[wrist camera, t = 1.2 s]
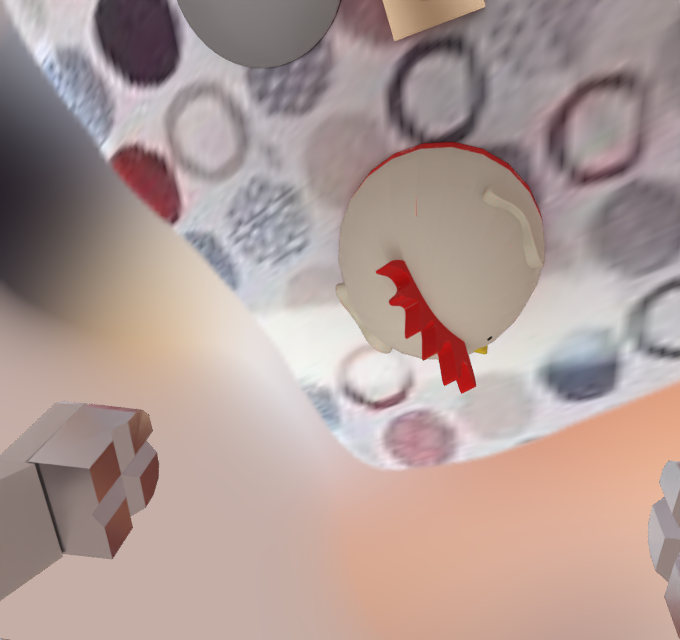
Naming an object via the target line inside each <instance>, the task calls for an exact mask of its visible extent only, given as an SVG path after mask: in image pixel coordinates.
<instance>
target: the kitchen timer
mask: <svg viewBox="0 0 680 640" xmlns="http://www.w3.org/2000/svg"><path fill="white" fill-rule="evenodd" d="M544 253H545V244H544V234H543V224H542V217H541V214H540V211H539V208H538V206H537V204H536V202H535V199H534V197H533V195H532V193H531V191H530V188H529V186H528V185H527V184H526V183H525V182H524V180H523V179H522V178H521V177H520V176H519V175H518V174H517V173H516V172H515V171H514V169H513V168H512V167H511V166H510V165H509V164H508V163H506V162H504V161H503V160H501V159H499V158H497V157H496V156H494V155H492V154H491V153H489V152H487V151H485V150H484V149H481V148H477V147H473V146H468V145H464V144H460V143H456V142H442V143H424V144H420V145H417V146H415V147H412V148H409V149H406V150H403V151H401V152H398V153H395V154H393V155H392V156H391V157H389V158H388V159H387V160H385V161H384V162H383V163H381V164H380V165H378V166H377V167H376V168H374V169H373V170H372V171H371V172H370V173H369V175H368V176H367V177H366V179H365V180H364V181H363V183H362V184H361V185H360V187H359V188H358V189H357V191H356V192H355V193H354V195H353V196H352V198H351V200H350V202H349V205H348V208H347V211H346V213H345V216H344V219H343V222H342V225H341V228H340V242H339V264H340V268H341V272H342V276H343V280H344V283H340V284H337V285H336V293H337V296H338V298H339V300H340V302H341V303H342V305H343V306H344V307H345V308H346V309H347V311H348V312H349V313H350V314H351V316H352V317H353V319H354V320H355V321H356V323H357V324H358V326H359V328H360V329H361V331H362V333H363V335H364V337H365V338H366V340H367V341H368V343H369V344H370V345H371V346H372V347H373V348H375V349H376V350H378V351H379V352H382V353H386V354H387V353H390V352H391V350H392V348H394V349H395V350H397V351H399V352H401V353H403V354H407V355H411V356H414V357H418V358H422V360H423V361H424V360H426V359H439V363H440V369H441V375H442V381H443V384H444V386H445V385H447V384H449V383H451V382H453V381H455V380H456V381H457V384H458V387H459V389H460V392H461V394H462V393H464V392H466V391H468V390H470V389H472V388H474V387H476V381H475V377H474V373H473V369H472V366H471V362H470V359H469V355H468V354H471V353H473V352H477V353H481V354H487V345H488V344H490V343H492V342H493V341H495V340H496V339H497V338H498V337H499V336H500V335H501V334H502V333H503V332H504V331H505V330H506V329H507V328H508V327H509V326H511V325H512V324H513V323H514V322H515V320H516V319H517V318H518V316H519V315H520V313H521V312H522V310H523V308H524V306H525V305H526V303H527V301H528V299H529V298H530V296H531V294H532V293H533V291H534V289H535V287H536V285H537V283H538V280H539V275H540V271H541V268H542V267H543V266H544Z"/></svg>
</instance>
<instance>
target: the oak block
mask: <svg viewBox="0 0 680 640" xmlns="http://www.w3.org/2000/svg"><path fill="white" fill-rule="evenodd" d="M383 3H384V7H385V10H386V14H387V17H388V21H389V24H390V28H391V31H392V35H393V38H394V41H397V40H399V39H402V38H405V37H407V36H410V35H413V34H415V33H418V32H421V31H423V30H426V29H428V28H431V27H434V26H436V25H439V24H442V23H444V22H447V21H450V20H452V19H455V18H458V17H460V16H463V15H465V14H468V13H471V12H473V11H476V10H479V9H481V8H484V7H486V6H485V2H484V0H383Z"/></svg>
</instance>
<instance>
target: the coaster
mask: <svg viewBox="0 0 680 640" xmlns="http://www.w3.org/2000/svg"><path fill="white" fill-rule="evenodd" d="M177 1H178V4H179V6H180V9H181V11H182V13H183V15H184V17H185V19H186V20H187V22H188V23H189V25H190V27H191V28H192V29H193V31H194V32H195V33H196V35H197V36H198V37H199V38H200V39H201V40H202V41H203V42H204V43H205V44H206V45H207V46H208V47H209V48H210V49H212V50H213V51H214V52H215V53H217V54H218V55H220V56H222V57H223V58H225V59H227V60H229V61H232V62H234V63H236V64H240V65H243V66H247V67H254V68H269V67H275V66H280V65H283V64H286V63H289V62H291V61H293V60H296V59H298V58H300V57H301V56H303V55H304V54H306V53H307V52H309V51H310V50H311V49H312V48H313V47H314V46H315V45H316V44H317V43H318V42H319V41H320V40H321V39H322V38H323V36H324V35H325V34H326V32H327V31H328V29H329V27H330V26H331V24H332V22H333V20H334V18H335V16H336V14H337V11H338V8H339V5H340V2H341V0H177Z"/></svg>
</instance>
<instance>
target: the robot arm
mask: <svg viewBox="0 0 680 640" xmlns="http://www.w3.org/2000/svg"><path fill="white" fill-rule="evenodd" d="M152 431H153V429H152V425H151V421H150V417H149V414H147V413H146V412H145V411H143V410H138V409H130V408H121V407H113V406H105V405H97V404H96V405H95V404H85V403H76V402H66V401H63V402H59V403H55V404H54V405H53V406H52V407H51V408H50V409H48V410H47V411H46V412H45V413H44V414H43V415H42V416H41V417H40V418H39V419H38V420H37V421H36V422H35V423H34V424H33V425H32V426H31V427H30V428H29V429H27V430H26V431H25V432H24V433H23V434H22V435H21V436H20V437H19V438H18V439H17V440H16V441H15V442H14V443H13V444H12V445H10V446H9V447H8V448H7V449H6V450H5V451H4V452H3V453H2V454H1V455H0V601H1V600H2V599H3V598H5V597H6V596H8V595H9V594H11V593H12V592H13V591H15V590H16V589H18V588H19V587H20V586H22V585H23V584H25V583H26V582H27V581H29V580H30V579H32V578H33V577H35V576H36V575H37V574H39V573H40V572H42V571H43V570H45V569H46V568H47V567H49V566H50V565H51V564H53V563H54V562H56V561H57V560H59V559H60V558H61V557H62V554H69V555H79V556H88V557H97V558H106V559H113V557H114V556H115V554H116V553H117V551H118V550H119V548H120V547H121V545H122V544H123V542H124V541H125V539H126V538H127V536H128V534H129V533H130V531H131V530H132V528H133V526H132V522H131V516H132V515H134V514H136V513H137V512H139V511H141V510H142V509H144V508H146V506H147V505H148V503H149V501H150V500H151V498H152V496H153V495H154V492H155V488H156V485H157V481H158V477H159V461H158V456H157V452H156V451H155V450H154V449H153V447H152V446H151V445H150V444H149V443H148V442H147V441H146V440H147V439H148V437H149V436H150V434H151V433H152ZM659 483H660V486H661V488H662V490H663V493H664V495H665V497H663V498H662V499H661V500H659V501H658V502H657V503H655V504H654V505H653V506H652V510H651V515H650V519H649V523H648V544H649V550H650V555H651V559H652V562H653V565H654V568H655V571H656V572H657V573H659V574H660V575H661V576H662V577H663V578H664V579H665V580H666V581H668V582H669V583H668V586H667V590H666V593H665V600H666V603H667V606H668V608H669V611H670V614H671V617H672V620H673V623H674V626H675V628H676V631H677V634H678V637H679V638H680V462H678V461H668V462H667V463H666V465H665V466H664V468H663V471H662V474H661V478H660V481H659ZM0 640H8V639H2V638H0Z"/></svg>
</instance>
